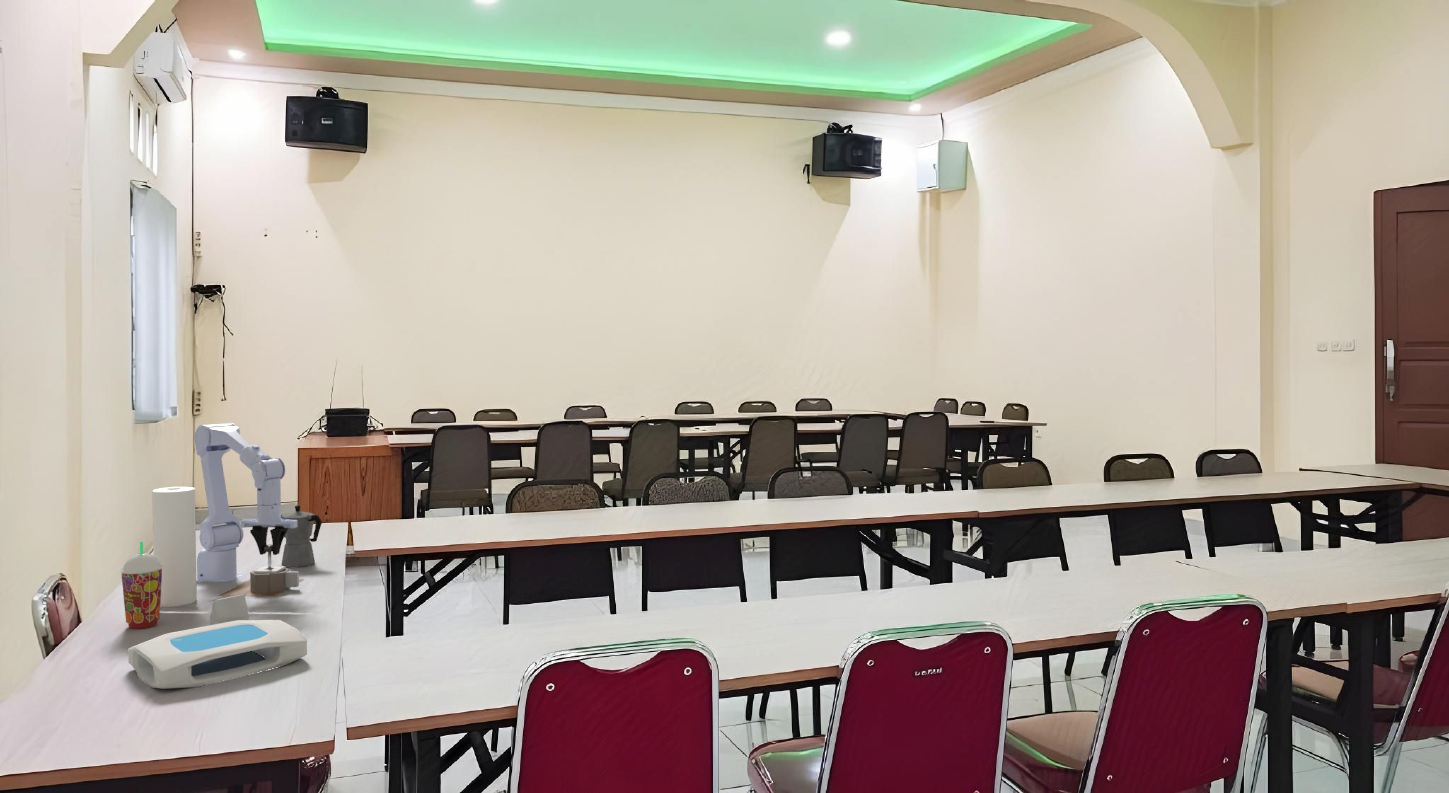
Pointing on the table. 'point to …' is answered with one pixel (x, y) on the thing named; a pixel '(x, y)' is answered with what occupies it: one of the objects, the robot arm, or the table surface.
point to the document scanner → (215, 652)
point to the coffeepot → (300, 539)
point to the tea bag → (229, 610)
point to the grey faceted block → (273, 579)
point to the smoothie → (142, 589)
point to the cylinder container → (175, 543)
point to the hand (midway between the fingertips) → (269, 553)
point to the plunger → (268, 549)
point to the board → (247, 591)
